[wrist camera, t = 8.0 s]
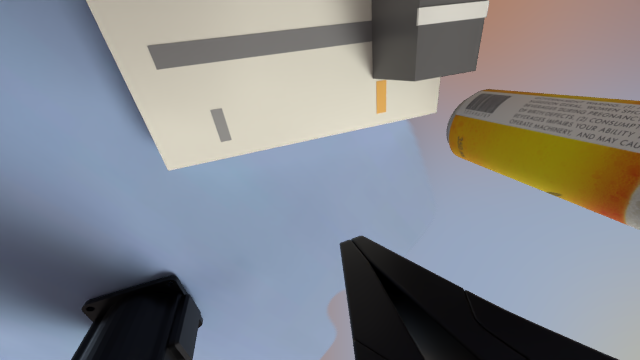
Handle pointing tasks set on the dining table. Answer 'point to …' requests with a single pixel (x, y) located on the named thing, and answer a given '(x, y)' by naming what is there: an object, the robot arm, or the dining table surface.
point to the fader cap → (425, 37)
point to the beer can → (556, 146)
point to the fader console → (252, 73)
